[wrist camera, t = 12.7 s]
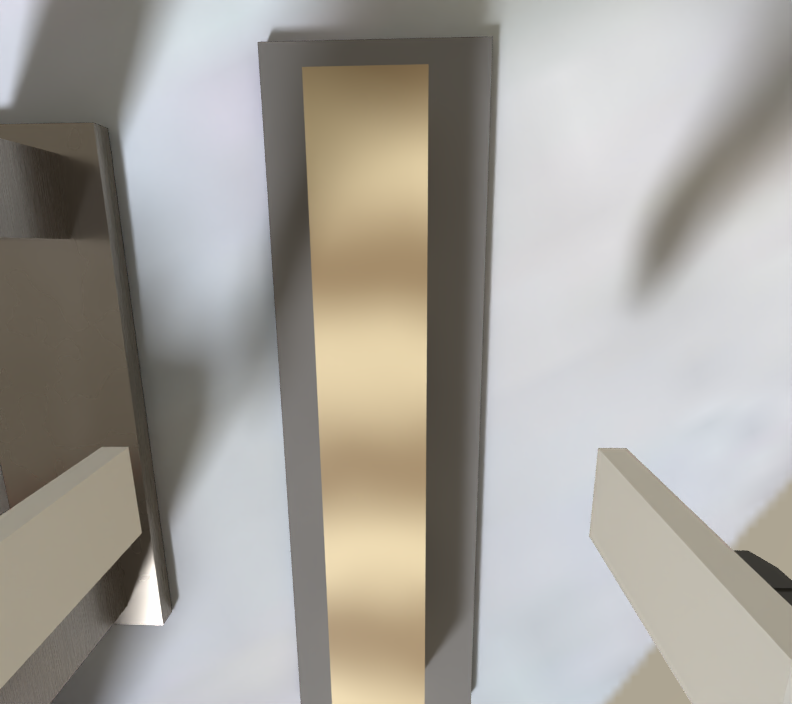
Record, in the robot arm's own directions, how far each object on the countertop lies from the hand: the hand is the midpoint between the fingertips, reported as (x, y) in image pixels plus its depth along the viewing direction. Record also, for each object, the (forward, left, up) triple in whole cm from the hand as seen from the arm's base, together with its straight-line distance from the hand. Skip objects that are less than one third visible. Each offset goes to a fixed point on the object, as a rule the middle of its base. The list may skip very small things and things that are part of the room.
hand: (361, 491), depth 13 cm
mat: (0, 0, -6) cm, 6 cm away
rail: (0, 0, -6) cm, 6 cm away
